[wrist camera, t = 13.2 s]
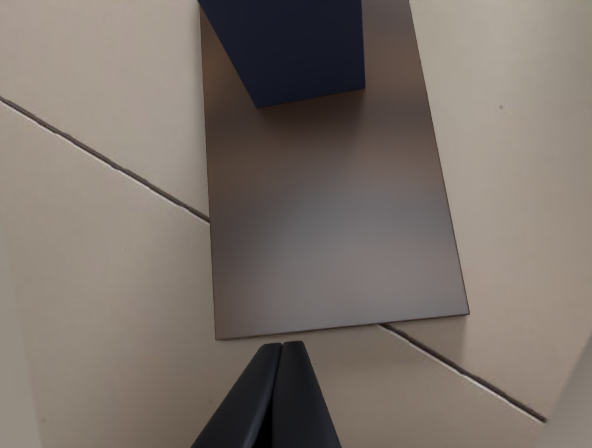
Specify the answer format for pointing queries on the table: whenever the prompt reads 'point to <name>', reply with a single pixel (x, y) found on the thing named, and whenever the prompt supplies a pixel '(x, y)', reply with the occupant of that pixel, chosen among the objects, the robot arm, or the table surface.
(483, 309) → the table surface
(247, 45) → the navy box
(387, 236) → the walnut board
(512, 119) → the table surface
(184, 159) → the table surface
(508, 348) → the table surface
